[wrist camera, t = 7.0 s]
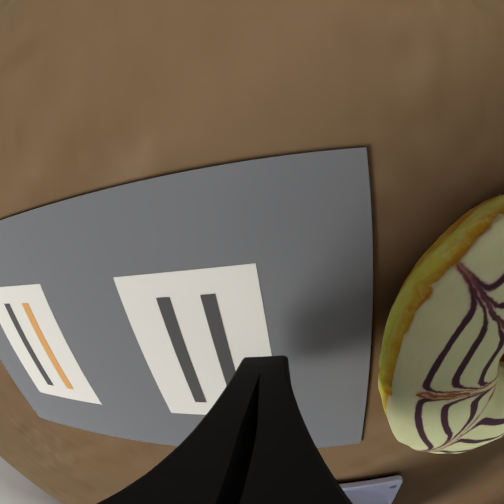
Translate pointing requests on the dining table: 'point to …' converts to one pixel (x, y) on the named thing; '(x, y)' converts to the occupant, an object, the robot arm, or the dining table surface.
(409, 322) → the decorated donut
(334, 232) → the label mat
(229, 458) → the robot arm
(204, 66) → the dining table surface
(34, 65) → the dining table surface
